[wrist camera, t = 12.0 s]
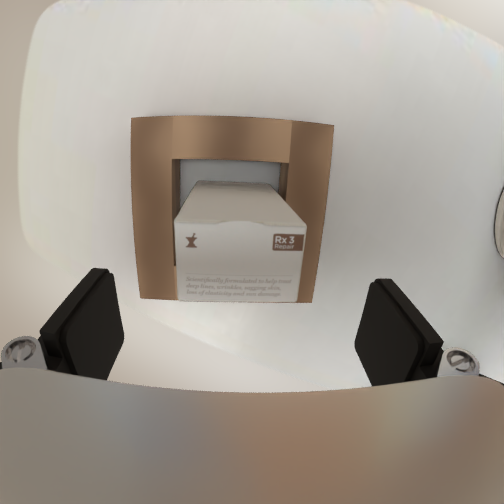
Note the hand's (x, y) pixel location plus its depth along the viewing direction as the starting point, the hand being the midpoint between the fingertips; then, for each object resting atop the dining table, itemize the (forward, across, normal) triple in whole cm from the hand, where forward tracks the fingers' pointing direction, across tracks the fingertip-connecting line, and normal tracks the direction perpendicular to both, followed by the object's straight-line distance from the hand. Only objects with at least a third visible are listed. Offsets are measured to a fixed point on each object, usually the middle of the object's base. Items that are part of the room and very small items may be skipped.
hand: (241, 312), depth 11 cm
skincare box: (+16, 0, 0) cm, 16 cm away
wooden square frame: (+16, +1, 0) cm, 16 cm away
